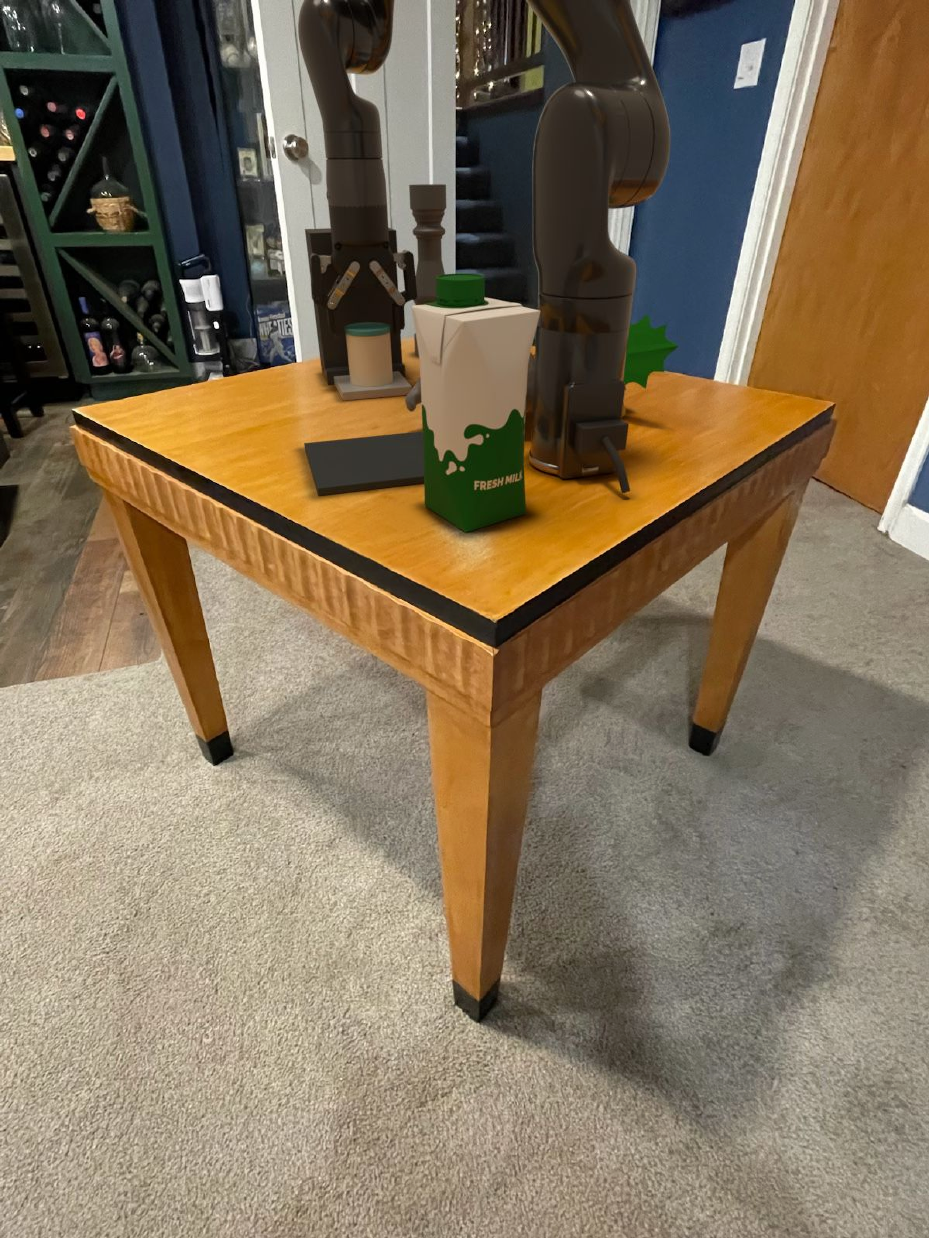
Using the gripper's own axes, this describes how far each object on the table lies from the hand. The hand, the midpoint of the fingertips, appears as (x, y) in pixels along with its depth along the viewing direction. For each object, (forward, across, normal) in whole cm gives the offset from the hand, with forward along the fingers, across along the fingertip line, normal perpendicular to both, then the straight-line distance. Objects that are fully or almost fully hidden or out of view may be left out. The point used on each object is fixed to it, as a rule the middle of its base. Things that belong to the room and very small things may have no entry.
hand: (367, 335), depth 97 cm
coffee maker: (+8, 0, +3) cm, 8 cm away
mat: (+7, -5, -30) cm, 31 cm away
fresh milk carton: (+7, +2, -45) cm, 46 cm away
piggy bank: (+8, +12, -20) cm, 25 cm away
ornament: (+8, +27, -20) cm, 35 cm away
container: (+6, 0, 0) cm, 6 cm away
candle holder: (+8, +14, +19) cm, 25 cm away
